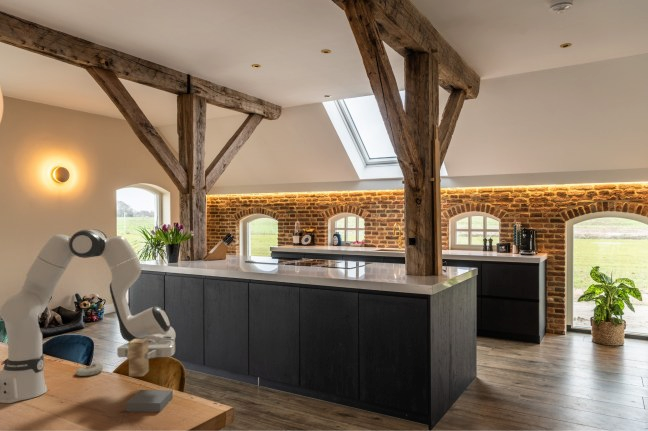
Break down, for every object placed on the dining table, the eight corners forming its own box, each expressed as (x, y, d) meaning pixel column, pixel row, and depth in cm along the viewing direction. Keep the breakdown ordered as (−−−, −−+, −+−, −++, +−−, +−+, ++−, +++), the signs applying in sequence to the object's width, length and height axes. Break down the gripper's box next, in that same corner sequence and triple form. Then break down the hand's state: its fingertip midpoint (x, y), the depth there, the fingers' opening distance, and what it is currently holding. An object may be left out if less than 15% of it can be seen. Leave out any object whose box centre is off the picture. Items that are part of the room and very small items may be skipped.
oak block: (129, 376, 166) (128, 342, 166) (135, 371, 171) (134, 338, 171) (143, 376, 165) (142, 342, 165) (148, 371, 170) (148, 338, 170)
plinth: (126, 411, 162) (126, 402, 162) (140, 398, 174) (140, 390, 174) (160, 411, 162) (160, 403, 162) (172, 398, 174) (172, 390, 174)
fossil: (89, 359, 210) (109, 363, 208) (88, 367, 210) (108, 371, 208) (71, 366, 199) (92, 371, 197) (70, 375, 199) (91, 379, 197)
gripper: (126, 337, 181) (109, 347, 167) (178, 337, 181) (165, 347, 167) (126, 353, 181) (109, 365, 167) (178, 353, 181) (165, 365, 167)
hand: (137, 356), depth 167 cm, fingers closed on oak block, 5 cm apart
